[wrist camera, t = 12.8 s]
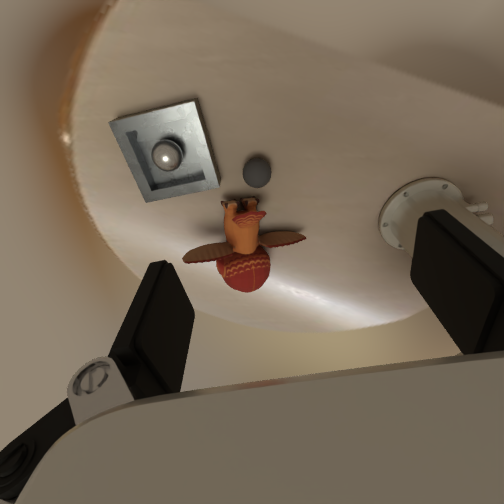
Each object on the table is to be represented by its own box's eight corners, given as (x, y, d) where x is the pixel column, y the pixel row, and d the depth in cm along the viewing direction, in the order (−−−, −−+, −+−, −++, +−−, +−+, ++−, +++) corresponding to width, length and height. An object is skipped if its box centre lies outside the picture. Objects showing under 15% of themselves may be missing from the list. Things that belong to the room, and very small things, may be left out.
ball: (267, 151, 40) (269, 160, 37) (272, 178, 43) (274, 189, 39) (240, 157, 41) (239, 167, 37) (246, 183, 43) (246, 195, 40)
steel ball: (180, 133, 38) (171, 141, 35) (190, 163, 40) (182, 173, 37) (152, 139, 39) (141, 147, 36) (164, 168, 41) (154, 178, 38)
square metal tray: (197, 97, 36) (194, 101, 34) (221, 179, 43) (219, 187, 40) (117, 117, 37) (108, 122, 35) (151, 194, 44) (145, 202, 41)
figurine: (168, 204, 43) (184, 291, 49) (177, 217, 35) (194, 318, 41) (285, 188, 49) (286, 266, 55) (313, 196, 42) (311, 286, 47)
